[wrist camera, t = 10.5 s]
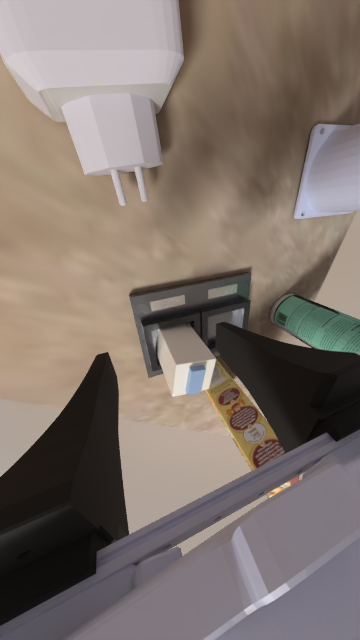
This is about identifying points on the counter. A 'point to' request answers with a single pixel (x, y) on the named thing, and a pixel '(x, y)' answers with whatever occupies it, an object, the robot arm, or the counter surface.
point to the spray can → (316, 324)
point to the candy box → (245, 423)
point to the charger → (98, 74)
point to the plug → (184, 360)
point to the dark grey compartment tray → (190, 311)
